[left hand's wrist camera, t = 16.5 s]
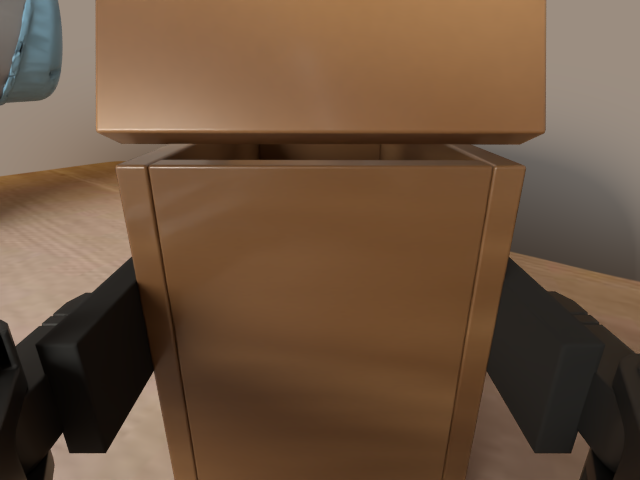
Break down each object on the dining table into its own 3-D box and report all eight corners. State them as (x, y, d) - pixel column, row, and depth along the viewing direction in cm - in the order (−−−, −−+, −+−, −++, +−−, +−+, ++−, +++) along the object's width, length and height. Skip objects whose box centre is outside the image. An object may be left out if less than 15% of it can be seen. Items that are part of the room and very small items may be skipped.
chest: (257, 267, 28) (247, 112, 24) (382, 267, 28) (392, 113, 24) (177, 500, 12) (113, 165, 8) (462, 500, 12) (528, 165, 8)
